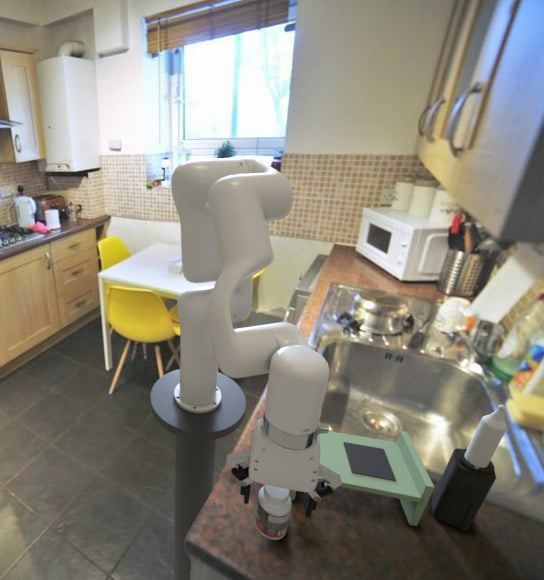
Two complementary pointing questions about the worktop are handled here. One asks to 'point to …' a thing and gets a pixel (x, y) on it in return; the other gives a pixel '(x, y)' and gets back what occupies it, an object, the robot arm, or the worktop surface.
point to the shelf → (378, 469)
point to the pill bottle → (273, 511)
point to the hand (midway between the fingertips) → (275, 502)
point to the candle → (469, 474)
